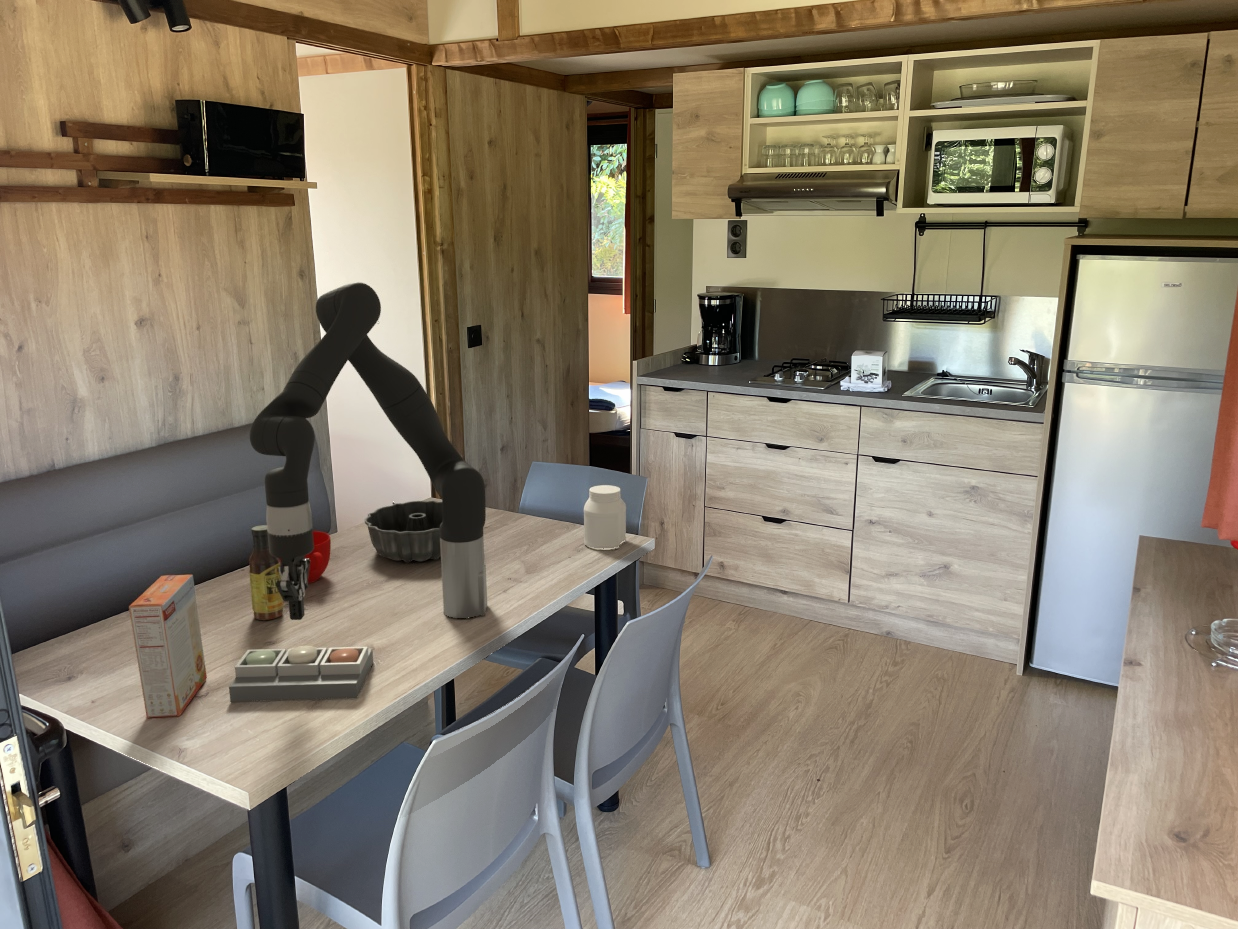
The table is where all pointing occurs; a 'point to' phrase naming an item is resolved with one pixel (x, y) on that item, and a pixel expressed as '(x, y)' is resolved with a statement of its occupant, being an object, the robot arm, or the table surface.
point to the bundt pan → (407, 530)
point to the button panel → (300, 677)
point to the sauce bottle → (264, 577)
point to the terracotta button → (344, 656)
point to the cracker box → (168, 645)
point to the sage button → (261, 658)
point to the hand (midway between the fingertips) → (297, 618)
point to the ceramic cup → (318, 555)
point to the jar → (604, 517)
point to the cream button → (302, 655)
